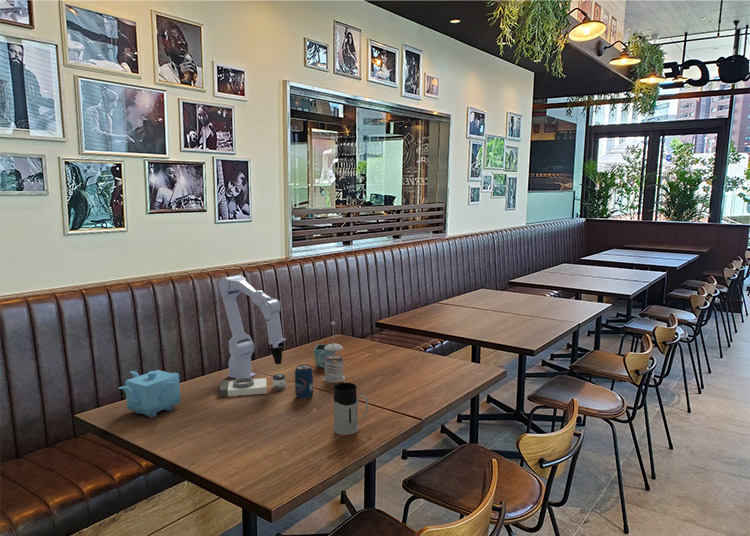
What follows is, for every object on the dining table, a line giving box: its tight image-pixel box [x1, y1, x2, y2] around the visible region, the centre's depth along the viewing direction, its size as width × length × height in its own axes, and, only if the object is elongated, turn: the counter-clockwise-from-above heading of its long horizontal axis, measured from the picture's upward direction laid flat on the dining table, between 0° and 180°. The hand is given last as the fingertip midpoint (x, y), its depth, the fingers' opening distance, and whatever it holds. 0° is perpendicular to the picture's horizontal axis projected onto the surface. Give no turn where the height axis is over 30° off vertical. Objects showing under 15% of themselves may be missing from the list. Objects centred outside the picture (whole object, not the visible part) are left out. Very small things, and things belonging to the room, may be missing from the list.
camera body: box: [219, 377, 268, 398], centre depth 219 cm, size 18×11×4 cm, turn 102°
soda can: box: [294, 363, 314, 400], centre depth 212 cm, size 7×7×12 cm
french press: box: [318, 321, 346, 384], centre depth 231 cm, size 10×12×25 cm
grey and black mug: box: [332, 382, 369, 436], centre depth 180 cm, size 9×14×15 cm, turn 51°
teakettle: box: [117, 369, 182, 418], centre depth 199 cm, size 19×19×15 cm
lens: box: [272, 373, 286, 390], centre depth 222 cm, size 5×5×5 cm
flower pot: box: [313, 343, 336, 368], centre depth 249 cm, size 9×9×9 cm
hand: (278, 362), depth 221 cm, fingers open, 7 cm apart
